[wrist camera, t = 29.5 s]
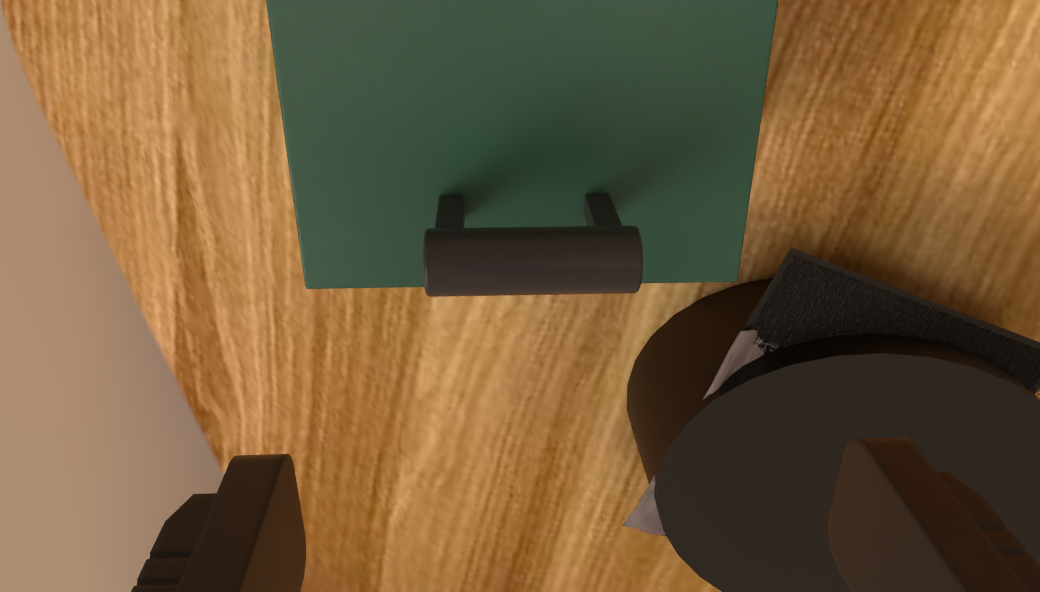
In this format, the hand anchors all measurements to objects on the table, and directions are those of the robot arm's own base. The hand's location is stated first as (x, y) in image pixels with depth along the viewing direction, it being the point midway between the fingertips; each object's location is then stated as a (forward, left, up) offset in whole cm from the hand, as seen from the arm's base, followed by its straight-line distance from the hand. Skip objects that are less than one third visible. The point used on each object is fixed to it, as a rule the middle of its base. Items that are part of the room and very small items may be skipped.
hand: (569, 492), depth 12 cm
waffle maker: (+14, -13, -21) cm, 28 cm away
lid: (0, +6, -12) cm, 14 cm away
